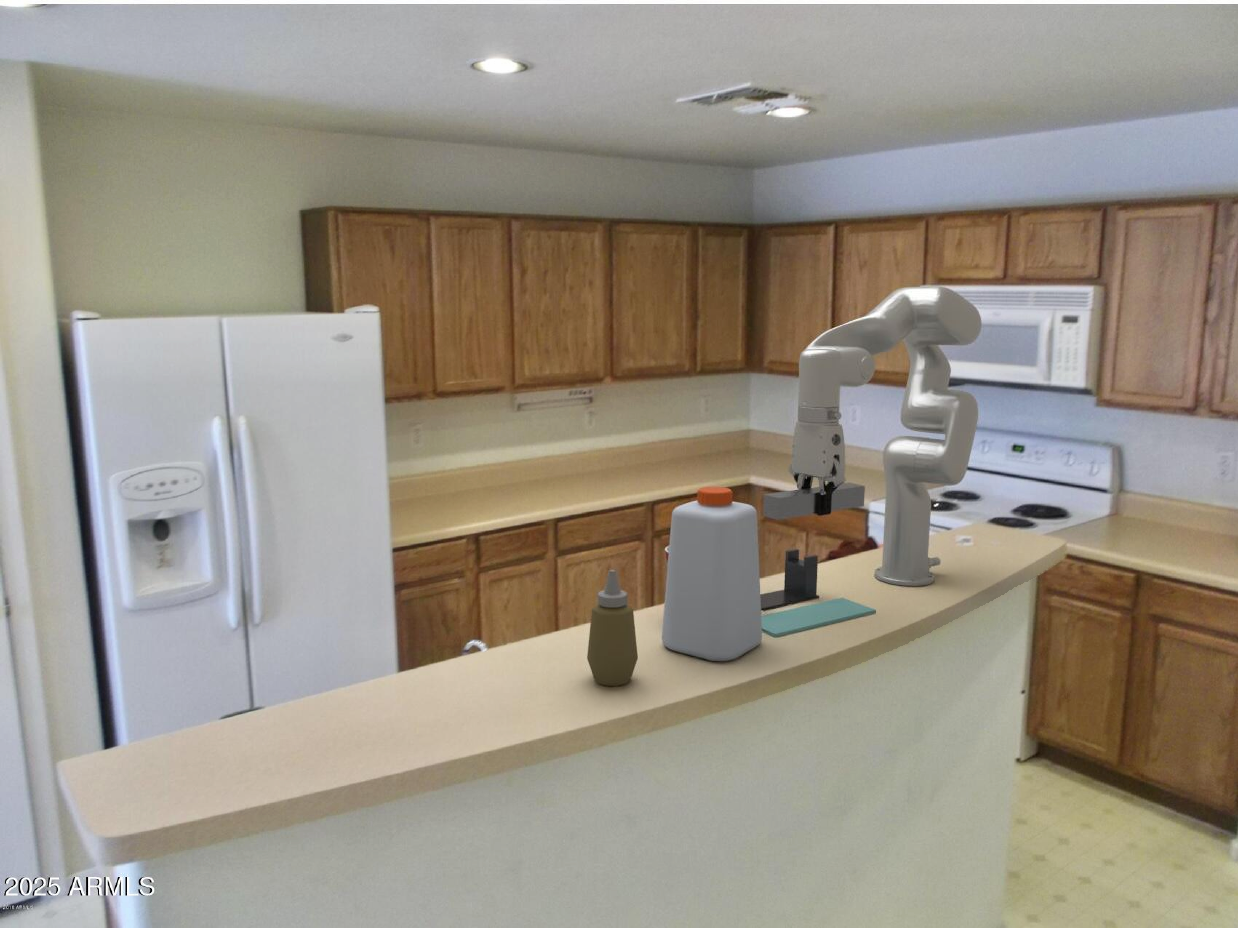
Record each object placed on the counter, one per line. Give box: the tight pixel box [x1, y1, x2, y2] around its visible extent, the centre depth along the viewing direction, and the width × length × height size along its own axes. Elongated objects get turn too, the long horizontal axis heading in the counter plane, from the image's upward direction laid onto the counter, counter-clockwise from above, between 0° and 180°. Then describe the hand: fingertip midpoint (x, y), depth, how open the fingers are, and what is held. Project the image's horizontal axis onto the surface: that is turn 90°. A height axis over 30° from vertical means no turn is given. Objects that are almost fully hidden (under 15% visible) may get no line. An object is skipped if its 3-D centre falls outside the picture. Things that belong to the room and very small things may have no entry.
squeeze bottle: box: [586, 569, 639, 687], centre depth 142 cm, size 8×8×18 cm
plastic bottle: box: [661, 486, 763, 662], centre depth 157 cm, size 15×15×28 cm
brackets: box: [760, 548, 820, 612], centre depth 182 cm, size 20×7×9 cm, turn 122°
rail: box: [762, 482, 866, 521], centre depth 169 cm, size 22×4×4 cm, turn 122°
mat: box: [761, 597, 877, 638], centre depth 173 cm, size 26×9×1 cm, turn 122°
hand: (814, 511), depth 170 cm, fingers closed on rail, 4 cm apart
